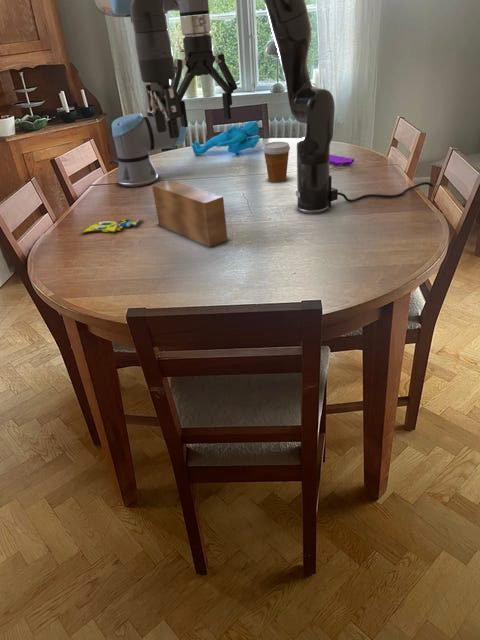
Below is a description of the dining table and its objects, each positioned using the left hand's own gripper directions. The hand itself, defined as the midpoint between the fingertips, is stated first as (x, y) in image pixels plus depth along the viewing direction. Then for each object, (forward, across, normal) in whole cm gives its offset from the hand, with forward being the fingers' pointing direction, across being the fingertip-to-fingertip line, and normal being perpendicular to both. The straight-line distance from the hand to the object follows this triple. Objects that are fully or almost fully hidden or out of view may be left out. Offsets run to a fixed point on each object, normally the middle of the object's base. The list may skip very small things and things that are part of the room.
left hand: (206, 122), depth 135 cm
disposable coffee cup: (+26, +32, +14) cm, 44 cm away
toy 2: (+26, +37, +62) cm, 76 cm away
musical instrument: (+26, +56, +19) cm, 65 cm away
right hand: (-3, -20, -20) cm, 28 cm away
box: (+26, -13, -10) cm, 31 cm away
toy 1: (+26, -31, +10) cm, 42 cm away
